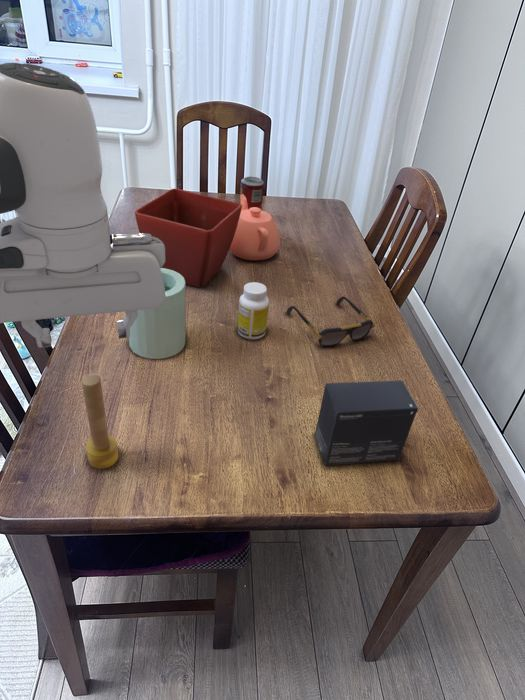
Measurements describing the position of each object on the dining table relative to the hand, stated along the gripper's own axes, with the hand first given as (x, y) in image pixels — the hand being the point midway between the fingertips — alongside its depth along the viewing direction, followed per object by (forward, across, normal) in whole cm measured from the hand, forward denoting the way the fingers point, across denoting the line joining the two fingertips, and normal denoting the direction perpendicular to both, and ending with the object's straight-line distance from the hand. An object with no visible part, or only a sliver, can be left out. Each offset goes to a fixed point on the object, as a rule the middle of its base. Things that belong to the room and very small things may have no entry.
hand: (85, 340), depth 61 cm
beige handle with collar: (+23, 0, 0) cm, 23 cm away
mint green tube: (+23, -12, -28) cm, 38 cm away
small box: (+23, -40, +7) cm, 46 cm away
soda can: (+23, -49, -88) cm, 103 cm away
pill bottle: (+23, -32, -28) cm, 48 cm away
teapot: (+23, -43, -66) cm, 82 cm away
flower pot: (+23, -24, -56) cm, 65 cm away
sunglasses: (+23, -50, -27) cm, 61 cm away
